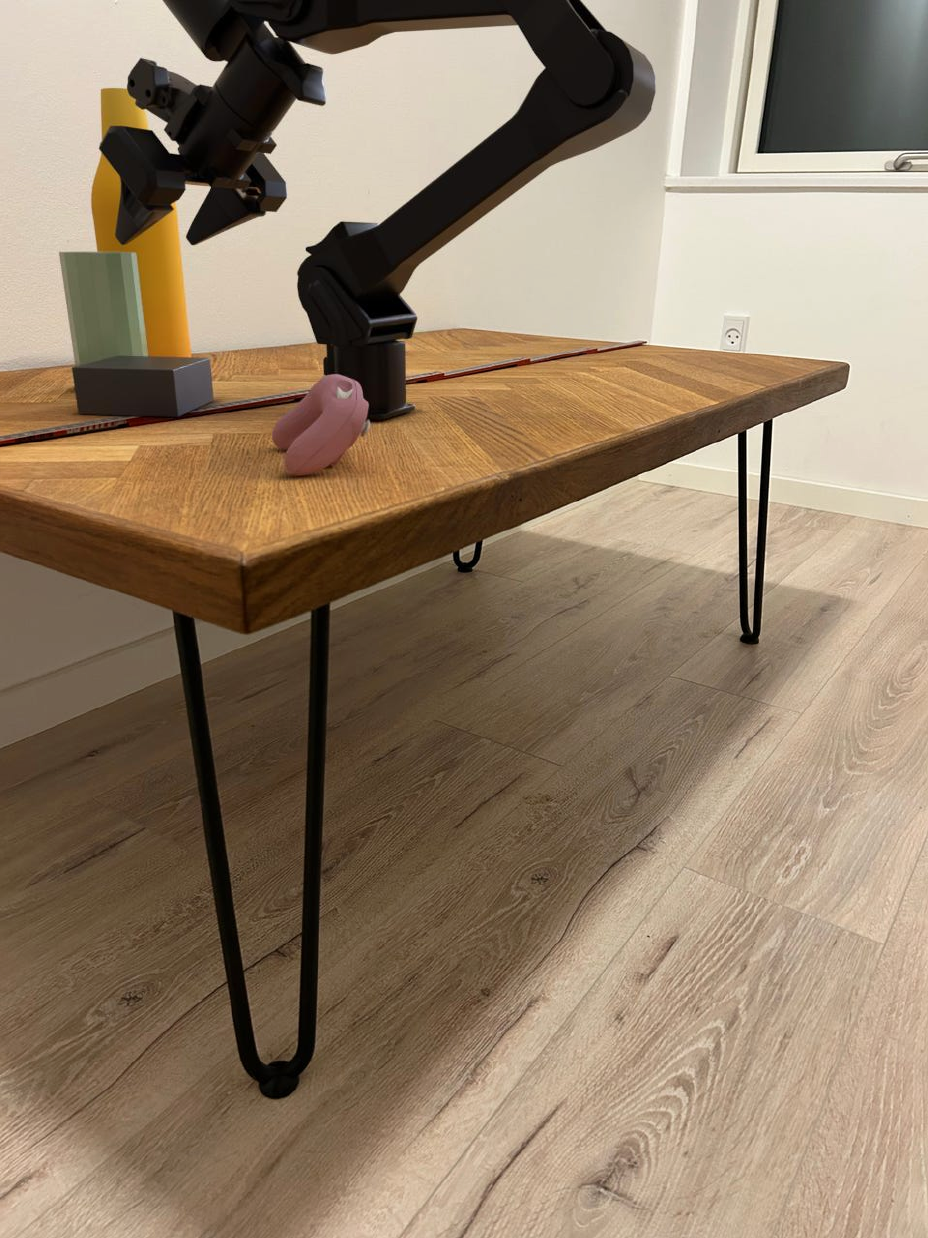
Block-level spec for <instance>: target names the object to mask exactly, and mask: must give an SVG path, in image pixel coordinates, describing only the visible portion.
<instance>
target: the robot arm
mask: <svg viewBox="0 0 928 1238" xmlns="http://www.w3.org/2000/svg"><path fill="white" fill-rule="evenodd" d="M162 2H163V4H164V5H165V6H166V7H167V9H168V10H169V12H171V14H172V15H173V16H174V18H175V19H176V20H177V22H178V23H179V24H180V26H181V27H182V29H183V30H184V31H185V33H187V35H188V36H189V38H190V39H191V40H192V42H193V43H194V44H195V46H196V47H197V48H198V49H199V51H200V52H201V53H202V54H203V56H204V57H205V58H206V59H207V60H208V61H210V62H219V63H220V62H226V64H225V65H224V67H223V69H222V71H221V72H220V74H219V75H218V77H217V79H216V80H215V82H214V84H213V85H212V86H210V85H205V84H201V83H200V84H196V83H194V82H192V81H191V80H189V79H188V78H187V77H184V76H183V75H181V74H178V73H176V72H173V71H170V70H168V68H166V67H164V66H160V65H158V64H157V62H156V61H154V60H152V59H148V58H143V57H140V58H139V59H138V61H137V62H136V63H135V64H134V66H133V67H132V69H131V70H130V71H129V74H128V75H127V85H126V89H127V90H128V93H129V95H130V96H131V97H132V98H134V99H136V101H135V105H136V106H137V107H139V108H140V109H143V110H144V109H145V111H148V112H149V113H151V114H152V115H154V116H156V117H157V118H158V119H160V120H162V121H164V122H165V123H167V124H166V125H165V127H164V128H163V131H164V132H165V134H166V135H167V136H168V138H169V139H170V140H171V141H172V142H175V143H176V144H177V145H178V147H177V152H178V153H173V152H172V153H171V152H170V151H169V150H168V149H167V148H166V146H165V145H164V144H163V142H162V141H161V140H160V138H159V137H158V136H157V135H156V133H155V132H154V131H153V130H152V129H149V130H147V129H140V128H134V127H127V126H110V127H109V129H108V130H107V132H106V134H105V136H104V137H103V139H102V138H101V140H100V142H99V146H98V150H99V152H102V153H103V155H104V156H105V157H106V159H107V160H108V161H109V163H110V164H111V165H112V167H113V168H114V169H115V171H116V172H117V173H118V175H119V177H120V181H121V192H120V202H119V210H118V217H117V224H116V231H115V237H116V239H117V240H118V241H119V242H120V244H121V245H126V244H128V243H129V242H131V241H132V240H134V239H135V238H137V237H138V236H139V235H141V234H142V233H143V232H145V231H146V230H147V229H149V228H150V227H151V226H153V225H154V224H155V223H157V222H158V221H159V220H161V219H162V218H164V217H165V216H166V215H168V214H169V213H170V212H172V211H173V210H174V208H173V207H172V205H171V204H172V203H174V202H175V203H176V202H177V201H179V200H180V199H181V198H182V196H183V194H184V193H185V192H186V185H190V186H201V187H209V191H208V193H207V194H206V196H205V198H204V200H203V202H202V203H201V205H200V207H199V209H198V211H197V212H196V215H195V216H194V218H193V220H192V222H191V224H190V226H189V228H188V231H187V233H186V235H185V239H186V240H187V242H188V243H189V244H190V246H197V245H199V244H201V243H203V242H205V241H207V240H210V239H212V238H214V237H216V236H219V235H220V234H222V233H224V232H226V231H229V230H231V229H233V228H235V227H237V226H240V225H242V224H245V223H247V222H249V221H252V220H255V219H257V218H263V217H264V216H266V214H267V213H268V212H270V213H277V212H278V211H279V209H280V208H281V207H282V205H283V204H284V202H285V201H286V200H287V198H288V193H287V192H288V191H287V186H288V185H287V182H286V180H285V179H284V178H283V177H282V175H281V173H280V172H279V171H278V170H277V169H276V168H275V166H274V165H273V163H272V162H271V161H270V159H269V158H268V157H267V156H266V154H267V155H272V153H273V152H274V150H275V149H276V148H277V146H278V144H277V142H276V141H275V140H274V139H273V138H272V135H273V134H274V132H275V130H276V129H277V128H278V126H279V125H280V123H282V120H283V119H284V118H285V116H286V114H287V113H288V112H289V110H290V109H291V107H292V106H293V105H294V103H295V102H296V100H297V101H300V102H301V103H303V102H304V103H307V104H311V105H315V106H320V107H324V106H325V105H326V104H327V97H326V89H325V86H324V82H323V81H324V80H323V79H324V77H323V76H324V68H322V67H321V66H318V65H316V64H312V63H309V62H305V60H304V58H303V57H302V56H301V55H300V54H299V52H298V50H296V48H295V47H294V46H293V44H295V45H299V46H301V47H303V48H308V49H310V50H313V51H317V52H320V53H323V54H326V55H339V54H342V53H346V52H349V51H352V50H356V49H359V48H362V47H363V48H364V47H366V46H369V45H370V44H372V43H373V42H375V41H376V40H378V39H380V38H381V37H383V36H388V35H390V34H391V35H392V34H394V33H403V32H405V33H406V32H423V31H439V30H440V31H441V30H457V29H475V28H476V29H477V28H478V29H479V28H493V27H494V28H495V27H508V26H509V27H511V26H518V28H519V30H520V31H521V33H522V35H523V37H524V39H525V41H526V42H527V44H528V46H529V47H530V49H531V51H532V53H534V55H535V56H536V57H537V59H538V60H539V62H540V63H541V64H542V65H543V67H544V69H543V70H542V71H541V72H540V73H539V74H538V75H537V76H536V78H535V79H534V81H533V83H532V85H531V87H530V88H529V90H528V91H527V94H526V95H525V97H524V99H523V100H522V103H520V106H519V108H518V110H517V111H516V112H515V114H514V115H513V116H512V117H511V118H510V119H508V120H507V121H506V122H505V123H503V124H502V125H501V126H499V127H498V128H497V129H496V130H495V131H493V132H492V133H491V134H490V135H489V136H487V137H486V138H485V139H483V140H482V141H481V142H480V143H479V144H477V145H476V146H475V147H474V148H472V149H471V150H470V151H469V152H468V153H466V154H465V155H463V157H461V158H460V159H458V160H457V161H456V162H455V163H453V165H451V166H450V167H449V168H447V169H446V170H445V171H443V172H442V173H441V174H440V175H439V176H437V177H436V178H435V179H434V180H433V181H431V182H430V183H429V184H428V185H426V186H425V187H424V188H422V190H420V191H419V192H417V194H415V195H414V196H412V198H410V199H408V201H407V202H405V203H403V204H402V206H400V207H399V208H398V209H397V210H395V211H394V212H393V213H392V214H390V215H389V216H388V217H386V219H384V220H383V221H381V222H380V223H379V224H378V222H366V221H365V222H364V221H362V222H361V221H344V220H343V221H342V220H341V221H339V222H338V223H336V225H334V226H333V227H332V228H331V229H330V230H329V231H328V233H327V234H326V235H325V236H324V238H323V239H321V241H319V242H317V243H315V244H314V245H309V246H306V247H305V252H306V253H307V254H309V255H308V256H307V257H305V258H304V260H303V261H302V262H301V263H300V265H299V266H298V269H297V270H296V271H297V272H296V275H297V283H296V288H297V295H298V300H299V302H300V305H301V307H302V308H303V310H304V311H305V313H306V315H307V319H308V321H309V324H310V326H311V330H312V332H313V336H314V338H315V341H316V343H317V344H318V345H325V346H326V347H325V348H326V356H325V357H324V358H323V359H322V367H323V376H324V375H325V376H327V375H332V374H339V375H342V376H345V377H347V378H351V379H353V380H355V381H357V382H358V383H359V384H360V386H361V388H362V392H363V398H364V399H365V400H366V401H367V402H368V404H369V407H368V413H367V418H366V420H376V421H380V420H381V421H383V420H386V419H389V418H392V417H395V416H399V415H402V414H405V413H409V412H413V411H415V410H416V404H414V403H407V363H406V361H407V360H406V359H407V357H406V355H407V354H406V353H407V352H406V341H404V340H409V339H412V338H413V334H414V331H415V328H416V325H417V321H418V315H417V314H416V312H415V311H414V310H413V309H412V308H411V306H410V305H409V304H408V302H407V301H406V300H405V299H404V298H403V297H402V296H401V294H402V293H403V291H404V290H405V288H406V287H407V285H408V282H410V280H411V278H412V276H413V275H414V272H415V271H416V269H417V268H418V267H419V266H420V265H421V264H422V263H423V262H425V261H426V260H428V259H429V258H430V257H431V256H433V255H434V254H435V253H437V252H438V251H440V250H441V249H442V248H444V247H445V246H446V245H447V244H450V243H451V242H452V241H453V240H454V239H456V238H457V237H458V236H460V235H461V234H462V233H463V232H465V231H466V230H468V229H469V228H470V227H471V226H473V225H474V224H476V223H477V222H478V221H480V220H481V219H482V218H483V217H485V216H486V215H488V214H489V213H490V212H492V211H493V210H495V209H496V208H497V207H498V206H500V205H501V204H502V203H504V202H505V201H507V199H509V198H510V197H512V196H513V195H515V194H516V193H517V192H518V191H519V190H521V189H522V188H524V187H525V186H527V185H528V184H529V183H530V182H532V181H533V180H534V179H536V178H537V177H539V176H540V175H541V174H542V173H544V172H545V171H546V170H548V169H549V168H550V167H553V166H554V165H556V164H558V163H561V162H564V161H566V160H569V159H573V158H575V157H578V156H580V155H583V154H586V153H588V152H591V151H594V150H596V149H598V148H601V147H602V146H604V145H606V144H609V143H610V142H613V141H614V140H616V139H618V138H621V137H623V136H624V135H627V134H629V133H630V132H632V131H634V130H635V129H637V128H638V127H639V126H640V125H641V124H642V123H643V122H644V121H646V119H647V118H648V116H649V115H650V113H651V111H652V108H653V103H654V99H655V96H656V91H657V87H656V86H657V85H656V82H657V81H656V80H657V78H656V74H655V71H654V68H653V64H652V63H651V61H650V60H649V59H648V57H647V56H646V55H645V54H644V53H643V52H641V51H640V50H638V49H637V48H635V47H634V46H632V45H631V44H630V43H628V41H627V42H626V41H625V40H624V39H623V38H622V37H620V36H618V35H616V34H615V33H613V32H612V31H608V30H607V29H606V28H605V27H604V26H603V24H601V22H600V20H598V19H597V17H596V16H595V15H594V14H593V13H592V12H591V10H590V8H588V7H587V6H586V4H584V2H583V1H582V0H162ZM265 22H267V24H268V27H270V28H271V30H272V31H273V32H274V34H273V33H272V31H270V29H269V28H268V27H267V25H266V23H265Z"/></svg>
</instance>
